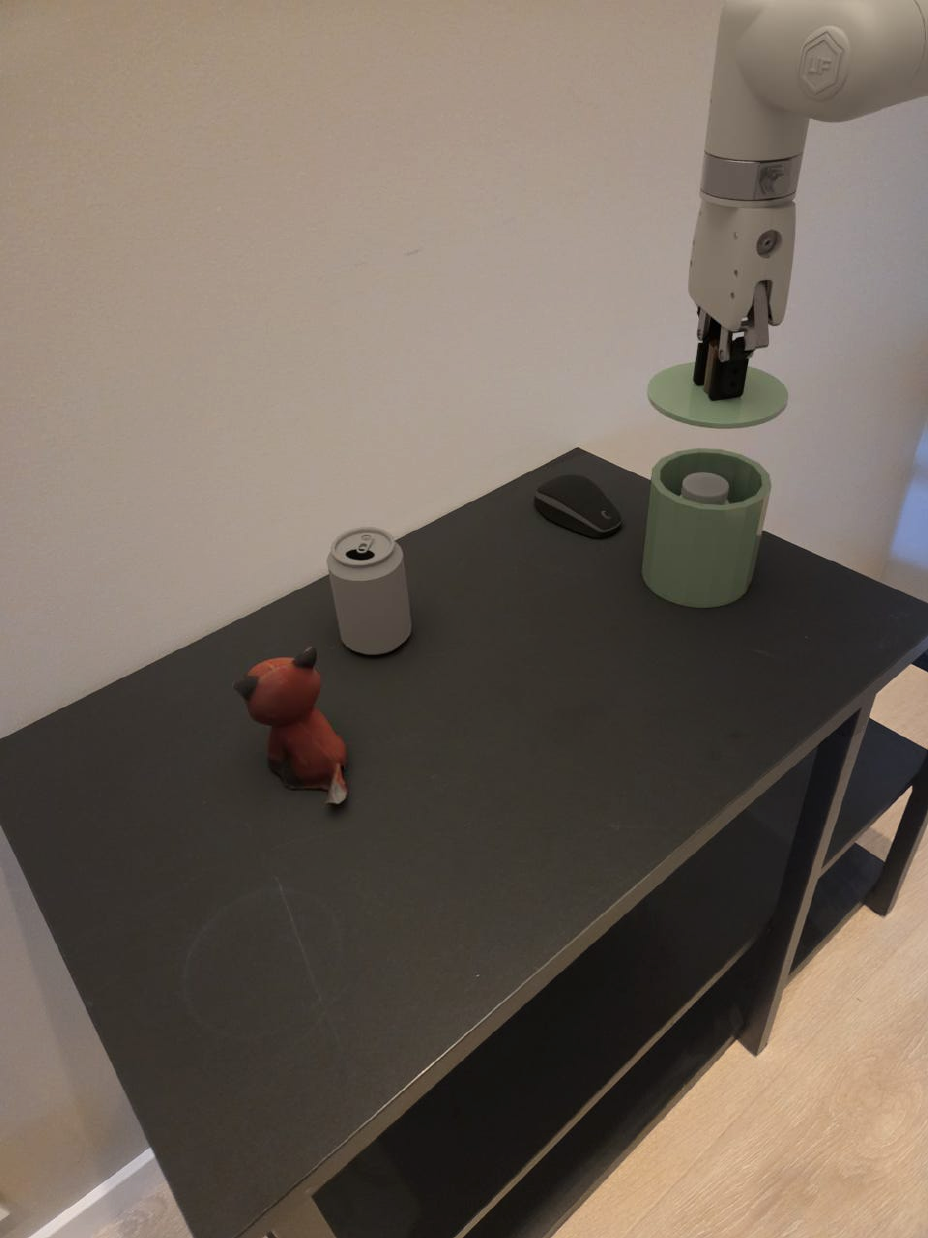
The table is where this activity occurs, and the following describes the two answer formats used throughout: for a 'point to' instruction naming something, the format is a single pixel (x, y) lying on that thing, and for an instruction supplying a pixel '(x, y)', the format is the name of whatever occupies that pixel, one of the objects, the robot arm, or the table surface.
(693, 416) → the lid
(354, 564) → the can
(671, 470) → the pot
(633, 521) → the table surface
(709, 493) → the pill bottle
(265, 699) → the stuffed fox
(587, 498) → the computer mouse
